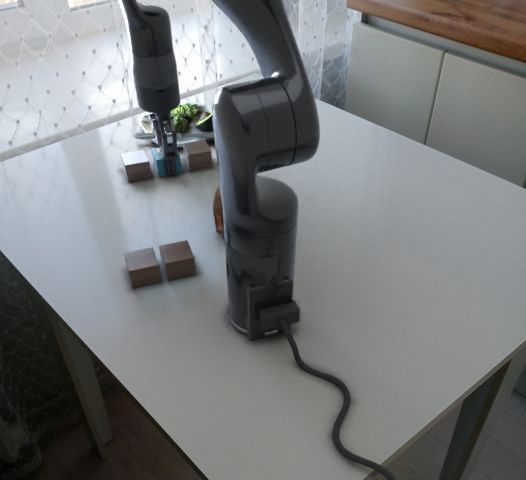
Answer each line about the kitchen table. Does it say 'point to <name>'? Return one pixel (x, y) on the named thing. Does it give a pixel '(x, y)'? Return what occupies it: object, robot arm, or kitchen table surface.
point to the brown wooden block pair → (147, 268)
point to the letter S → (159, 162)
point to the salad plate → (184, 124)
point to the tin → (218, 212)
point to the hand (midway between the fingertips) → (168, 167)
